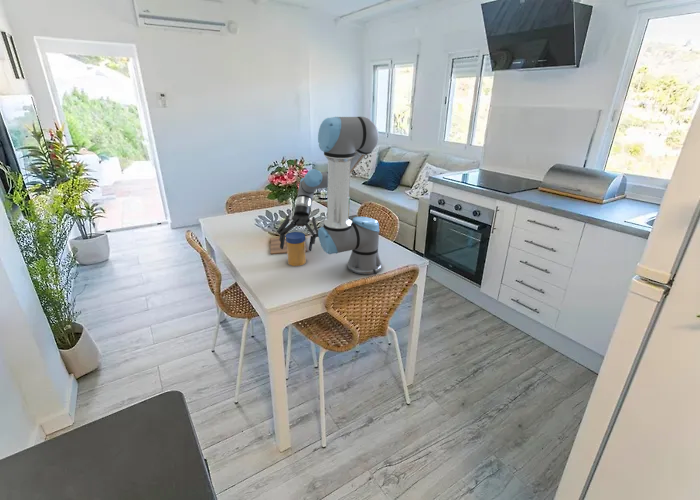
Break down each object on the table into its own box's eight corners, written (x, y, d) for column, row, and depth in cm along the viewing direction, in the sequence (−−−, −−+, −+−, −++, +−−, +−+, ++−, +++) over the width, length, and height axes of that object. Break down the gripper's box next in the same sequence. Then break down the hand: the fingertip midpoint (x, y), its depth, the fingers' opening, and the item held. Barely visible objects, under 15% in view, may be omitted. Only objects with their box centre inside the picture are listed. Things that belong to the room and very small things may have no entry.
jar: (306, 265, 160) (305, 239, 155) (288, 266, 159) (286, 240, 153) (305, 257, 168) (303, 232, 163) (287, 258, 166) (285, 233, 161)
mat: (307, 251, 174) (307, 250, 174) (270, 254, 171) (270, 253, 171) (304, 237, 192) (304, 236, 192) (270, 239, 189) (270, 238, 188)
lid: (306, 243, 156) (305, 238, 155) (286, 244, 154) (285, 239, 153) (304, 235, 163) (304, 231, 163) (285, 237, 162) (285, 232, 161)
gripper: (329, 213, 169) (323, 253, 162) (280, 210, 173) (272, 250, 165) (327, 205, 162) (320, 247, 155) (275, 202, 166) (267, 244, 158)
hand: (295, 249), depth 160 cm, fingers open, 13 cm apart
